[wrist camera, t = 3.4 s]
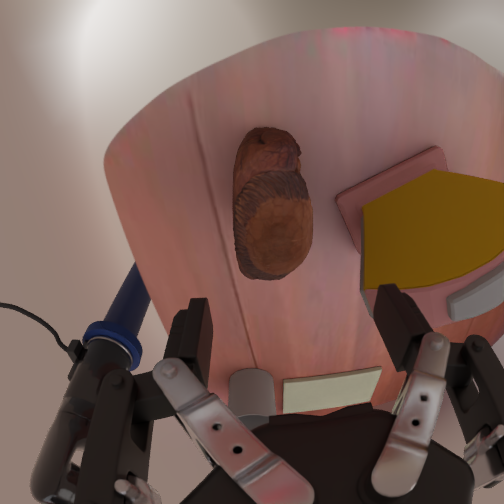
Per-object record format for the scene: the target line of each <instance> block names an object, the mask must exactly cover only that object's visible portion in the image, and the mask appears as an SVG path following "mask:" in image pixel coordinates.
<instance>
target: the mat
mask: <svg viewBox="0 0 504 504" xmlns="http://www.w3.org/2000/svg"><path fill="white" fill-rule="evenodd" d="M381 371H382V368H381V366H379V367H374V368H368V369H363V370H357V371H350V372H344V373H337V374H330V375H322V376H314V377H305V378H295V379H285V380H283V413H293V412H302V411H311V410H318V409H326V408H333V407H339V406H345V405H351V404H356V403H362V402H367V401H370V399H371V397H372V394H373V392H374V389H375V387H376V384H377V382H378V379H379V377H380V374H381Z"/></svg>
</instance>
